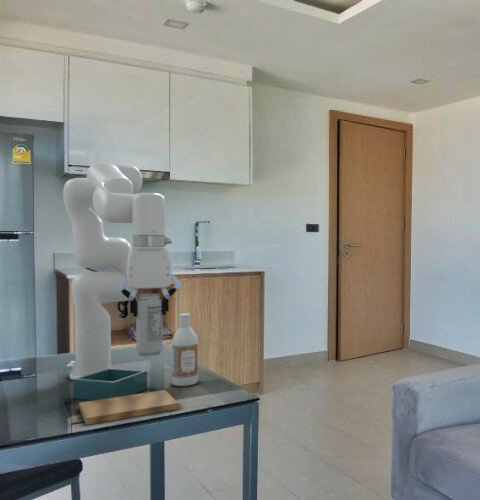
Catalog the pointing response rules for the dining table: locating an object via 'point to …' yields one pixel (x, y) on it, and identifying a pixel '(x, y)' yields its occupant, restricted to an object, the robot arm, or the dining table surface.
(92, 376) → the teal open tray
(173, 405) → the oak board
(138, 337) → the energy drink can
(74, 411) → the dining table surface
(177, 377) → the bath foam
